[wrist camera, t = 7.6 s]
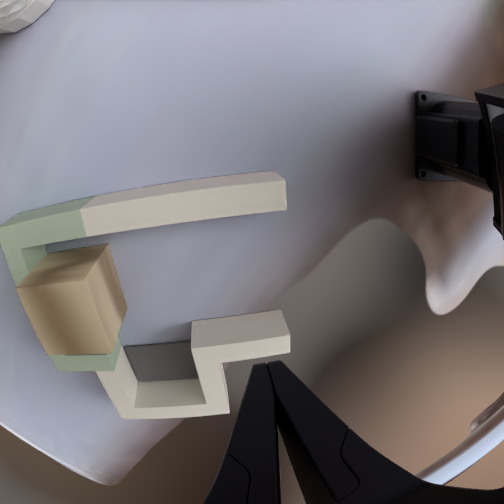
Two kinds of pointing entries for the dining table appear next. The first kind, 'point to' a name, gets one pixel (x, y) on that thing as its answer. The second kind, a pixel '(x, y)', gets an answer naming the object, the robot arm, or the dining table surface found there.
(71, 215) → the angular open frame
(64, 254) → the block
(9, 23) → the white cup
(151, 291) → the dining table surface
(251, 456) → the robot arm
